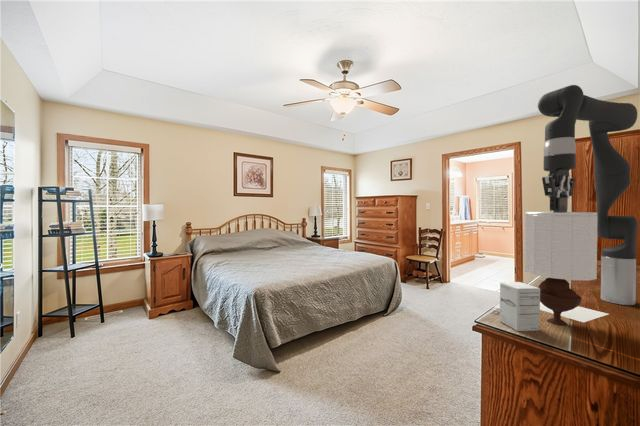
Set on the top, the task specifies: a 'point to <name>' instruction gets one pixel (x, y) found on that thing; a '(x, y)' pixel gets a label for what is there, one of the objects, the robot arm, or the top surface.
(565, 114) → the robot arm
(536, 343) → the top surface
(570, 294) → the ice cream bowl
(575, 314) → the mat
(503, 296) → the supplement box
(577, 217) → the cover
